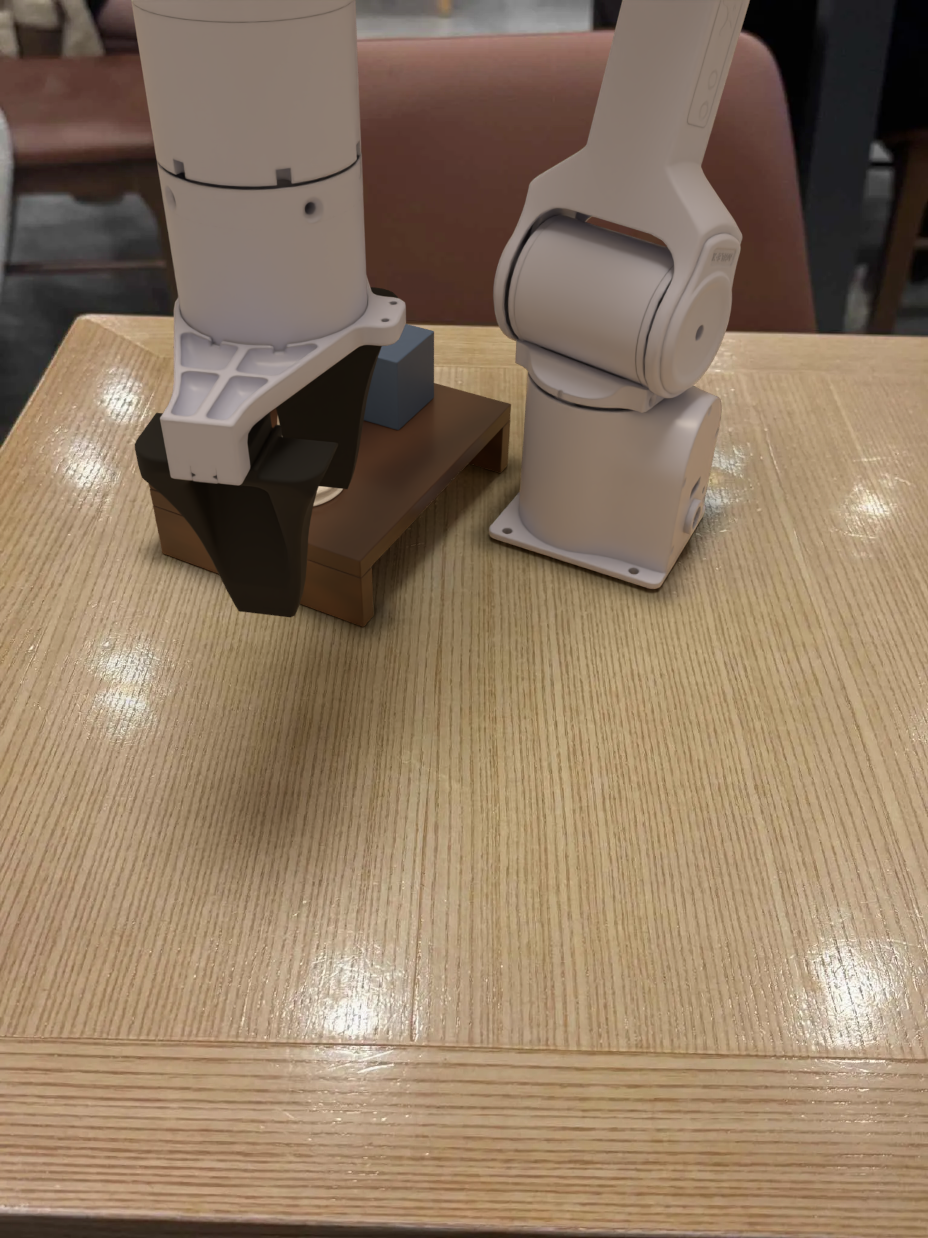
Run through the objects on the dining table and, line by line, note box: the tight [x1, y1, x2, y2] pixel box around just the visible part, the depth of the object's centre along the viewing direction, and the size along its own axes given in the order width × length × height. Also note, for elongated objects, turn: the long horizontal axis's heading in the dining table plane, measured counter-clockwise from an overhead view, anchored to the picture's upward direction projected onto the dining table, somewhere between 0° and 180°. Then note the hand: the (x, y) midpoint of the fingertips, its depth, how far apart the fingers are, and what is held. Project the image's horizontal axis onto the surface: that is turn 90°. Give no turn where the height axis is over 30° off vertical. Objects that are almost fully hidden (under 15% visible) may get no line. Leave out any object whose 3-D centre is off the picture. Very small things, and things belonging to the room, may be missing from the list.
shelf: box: [148, 382, 512, 628], centre depth 57 cm, size 12×16×6 cm
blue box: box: [364, 323, 435, 430], centre depth 58 cm, size 4×4×4 cm
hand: (298, 540), depth 40 cm, fingers open, 7 cm apart
